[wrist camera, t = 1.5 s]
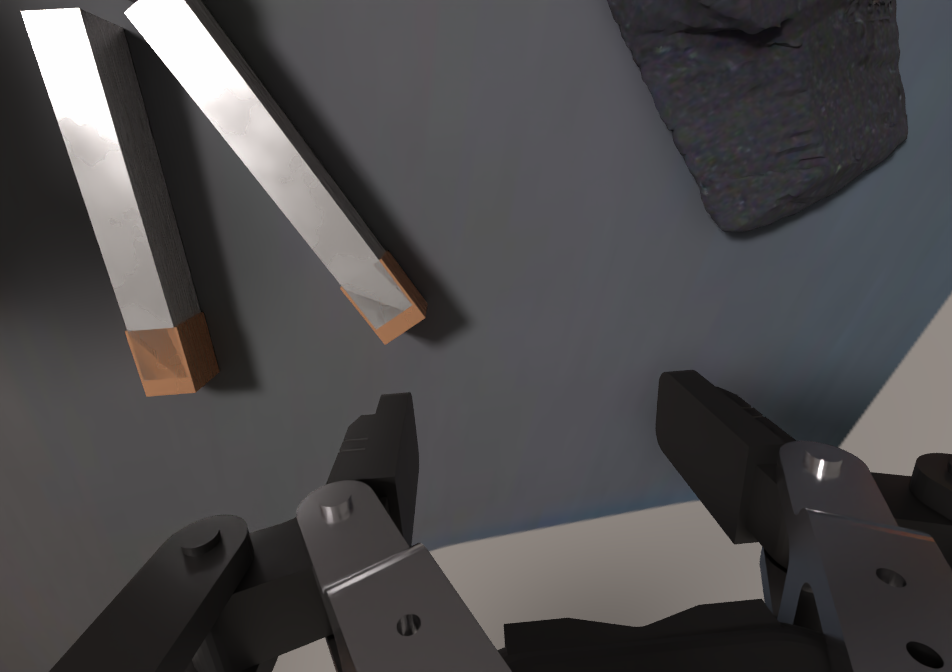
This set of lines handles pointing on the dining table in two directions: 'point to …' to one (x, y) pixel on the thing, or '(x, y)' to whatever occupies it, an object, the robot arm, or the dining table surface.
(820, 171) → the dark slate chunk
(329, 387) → the dining table surface
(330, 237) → the tong arm
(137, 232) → the base
